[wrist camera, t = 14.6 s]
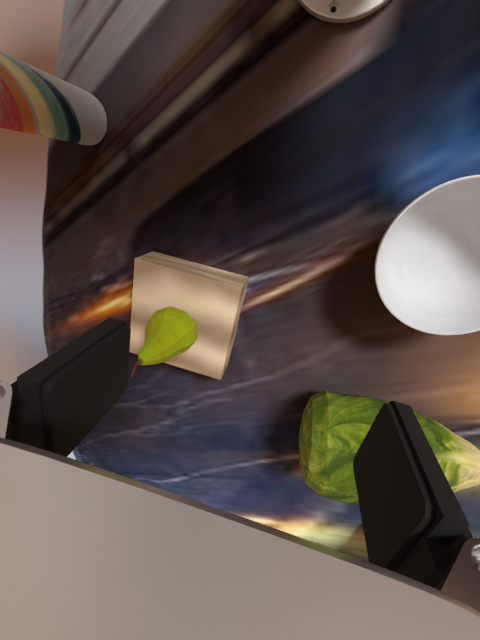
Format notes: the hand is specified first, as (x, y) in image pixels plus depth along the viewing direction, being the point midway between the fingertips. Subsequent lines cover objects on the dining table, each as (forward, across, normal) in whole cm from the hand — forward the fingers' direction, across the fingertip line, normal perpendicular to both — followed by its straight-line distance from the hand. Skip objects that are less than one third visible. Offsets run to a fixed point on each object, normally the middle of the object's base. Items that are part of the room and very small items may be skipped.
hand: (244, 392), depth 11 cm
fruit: (+26, +11, +12) cm, 30 cm away
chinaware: (+31, -16, -4) cm, 35 cm away
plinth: (+30, +11, +12) cm, 34 cm away
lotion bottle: (+31, +28, -9) cm, 42 cm away
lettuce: (+31, -20, +21) cm, 42 cm away
